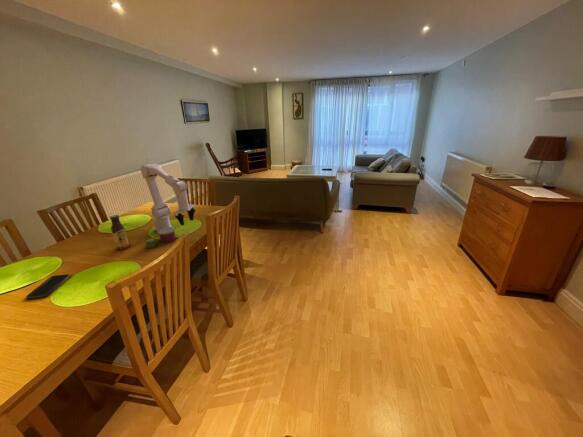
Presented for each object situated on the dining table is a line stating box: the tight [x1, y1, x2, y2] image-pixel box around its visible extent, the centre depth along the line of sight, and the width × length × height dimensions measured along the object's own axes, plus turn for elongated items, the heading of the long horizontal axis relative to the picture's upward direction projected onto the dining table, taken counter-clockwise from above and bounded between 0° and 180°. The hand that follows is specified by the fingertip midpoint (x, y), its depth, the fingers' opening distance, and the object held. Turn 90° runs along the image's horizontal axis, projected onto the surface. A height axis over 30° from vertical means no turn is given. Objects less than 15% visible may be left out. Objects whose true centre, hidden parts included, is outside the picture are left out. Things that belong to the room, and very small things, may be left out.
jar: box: [157, 226, 177, 243], centre depth 148 cm, size 10×10×6 cm
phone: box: [25, 274, 70, 300], centre depth 107 cm, size 8×1×15 cm
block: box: [145, 237, 158, 249], centre depth 140 cm, size 4×4×4 cm
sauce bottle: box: [109, 214, 130, 250], centre depth 136 cm, size 6×6×20 cm
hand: (187, 222), depth 148 cm, fingers open, 7 cm apart
